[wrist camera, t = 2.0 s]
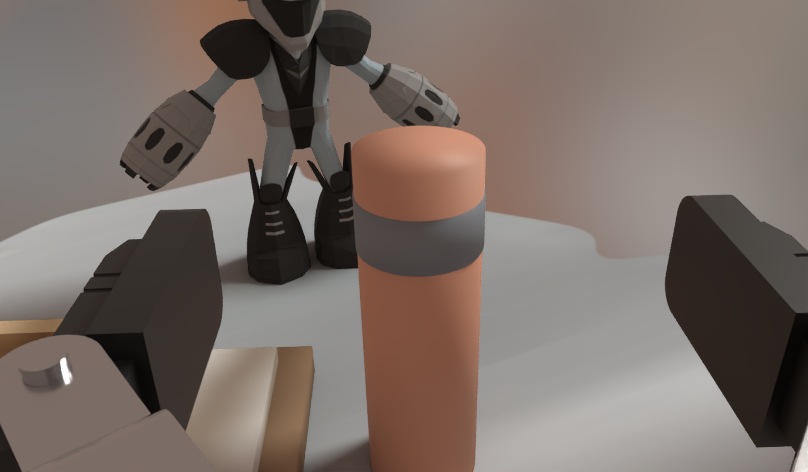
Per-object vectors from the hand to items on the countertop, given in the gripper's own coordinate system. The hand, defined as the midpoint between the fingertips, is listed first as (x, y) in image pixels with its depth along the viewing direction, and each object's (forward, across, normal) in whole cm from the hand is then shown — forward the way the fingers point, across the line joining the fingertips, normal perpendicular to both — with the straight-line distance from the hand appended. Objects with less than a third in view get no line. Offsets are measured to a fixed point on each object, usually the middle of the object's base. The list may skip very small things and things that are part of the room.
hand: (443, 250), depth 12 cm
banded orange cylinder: (+12, 0, +17) cm, 20 cm away
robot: (+28, +6, +17) cm, 34 cm away
